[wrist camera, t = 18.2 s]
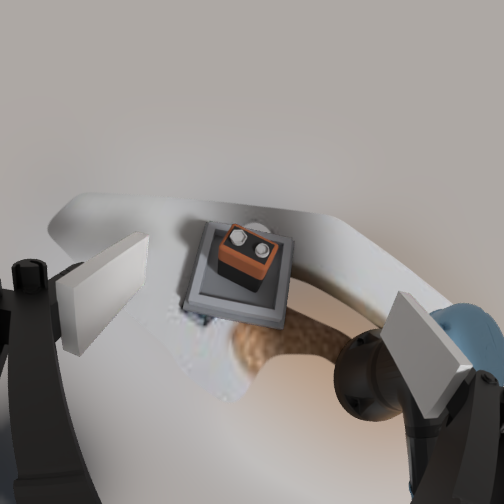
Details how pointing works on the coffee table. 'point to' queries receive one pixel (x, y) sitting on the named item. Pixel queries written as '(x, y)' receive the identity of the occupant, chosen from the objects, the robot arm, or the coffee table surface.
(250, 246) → the battery
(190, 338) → the coffee table surface
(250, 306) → the charging dock
